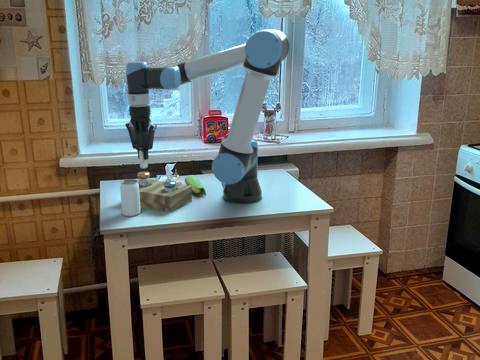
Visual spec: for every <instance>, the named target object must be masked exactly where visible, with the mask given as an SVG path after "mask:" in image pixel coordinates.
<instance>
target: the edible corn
mask: <svg viewBox="0 0 480 360" xmlns="http://www.w3.org/2000/svg"><path fill="white" fill-rule="evenodd" d="M184 183H185V185H188V186H192V193H194V194H195V195H196V196H199V197H202V198H204V197H205V196H207V191H206V189H205V187H204V186H203V185H202V183H201V182H200V180H199V179H198V178H197V177H196V176H195V175H193V174H190V175H187V176H186V177H185V179H184Z"/></svg>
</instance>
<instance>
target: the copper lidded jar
mask: <svg viewBox="0 0 480 360" xmlns="http://www.w3.org/2000/svg"><path fill="white" fill-rule="evenodd" d="M136 174H137V176H136V177H137V178H138V181H139V187H144V188H146V187H148V186H150V185H149V179H150V177H151V173H150V172H149V171H139V172H137V173H136Z"/></svg>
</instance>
